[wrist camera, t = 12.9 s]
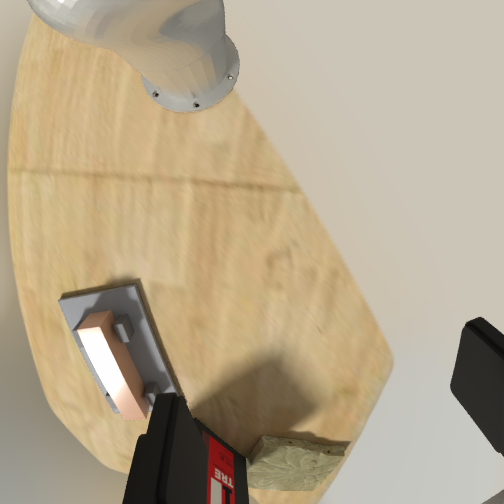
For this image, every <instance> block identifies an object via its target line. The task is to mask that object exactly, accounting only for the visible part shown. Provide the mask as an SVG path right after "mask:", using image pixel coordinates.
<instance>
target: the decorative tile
mask: <svg viewBox="0 0 504 504" xmlns="http://www.w3.org/2000/svg"><path fill="white" fill-rule="evenodd" d="M344 451H345V447H344V446H341V445H333V446H325V445H320V444H318V443H316V444H315V443H310V442H308V441H307V440H298V439H290V438H280V437H272V436H262V437H261V438H260V440H259V441H258V443H257V444H256V446H255V447H254V449H253V450H252V452H251V453H250V455H249V456H248V458H247V459H246V466H247V481H248V488H255V489H265V490H280V491H312V490H314V489H315V488H316V487H318V486H319V485H320V484H321V483H322V482H323V481H324V480H325V479H326V478H327V476H328V475H329V474H330V473H331V472H332V471H333V470H334V469H335V468H336V467H337V466H338V465H339V463H340V462H341V460H342V459H343V457H344Z"/></svg>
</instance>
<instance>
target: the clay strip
mask: <svg viewBox="0 0 504 504" xmlns="http://www.w3.org/2000/svg"><path fill="white" fill-rule="evenodd" d="M114 323H115V318H114V316H113V313H112V311H111V310H108V311H102V312H96V313H90V314H89V315H88V316H87V317H86V319H85V320H84V321H83V323H82V324H81V325H80V327H79V328H78V329H77V331H78V334H79V336H80V338H81V340H82V342H83V344H84V346H85V348H86V351H87V353H88V355H89V357H90V359H91V361H92V363H93V365H94V367H95V368H96V370H97V372H98V374H99V376H100V378H101V380H102V382H103V383H104V385H105V387H106V389H107V391H108V392H109V394H110V396H111V398H112V399H113V401H114V403H115V405H116V406H117V408H118V410H119V411H120V413H121V415H122V416H123V418H124V419H125V420H142V419H146V418H147V414H148V411H149V407H150V403H149V401H148V400H147V398H146V396H145V391H146V388H145V386H144V383H143V381H142V379H141V377H140V375H139V373H138V371H137V369H136V367H135V365H134V362H133V360H132V358H131V356H130V354H129V351H128V349H127V347H126V345H125V343H120V341H119V338H118V336H117V334H116V331H115V329H114V327H113V324H114Z"/></svg>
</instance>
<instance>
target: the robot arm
mask: <svg viewBox="0 0 504 504" xmlns="http://www.w3.org/2000/svg"><path fill="white" fill-rule="evenodd" d="M27 2H28V3H29V5H30V7H31V9H32V10H33V11H34V12H35V14H36V15H37V16H38V17H39V18H40V19H41V20H42V21H43V22H44V23H45V24H47V25H48V26H49V27H51V28H52V29H54V30H55V31H57V32H59V33H61V34H62V35H64V36H66V37H68V38H70V39H73V40H75V41H78V42H81V43H84V44H87V45H91V46H95V47H99V48H104V49H109V50H111V51H113V52H115V53H116V54H117V55H119V56H120V57H121V58H123V59H124V60H125V61H126V62H128V63H129V64H130V65H131V66H132V67H133V68H135V69H136V70H137V71H138V72H139V73H141V80H142V83H143V87H144V88H145V90H146V92H147V94H148V95H149V96H150V97H151V99H152V100H153V101H155V102H156V103H157V104H159V105H160V106H162V107H163V108H165V109H168V110H171V111H174V112H180V113H193V112H198V111H202V110H205V109H208V108H210V107H212V106H214V105H215V104H217V103H219V102H220V101H221V100H222V99H224V98H225V97H226V96H227V94H228V93H229V92H230V91H231V90H232V88H233V86H234V84H235V83H236V80H237V76H238V74H239V56H238V51H237V49H236V47H235V45H234V43H233V42H232V41H231V39H230V38H229V37H228V36H227V35H226V34H225V14H224V13H225V12H224V4H223V0H27ZM229 77H232V78H233V79H231V80H230V79H229ZM156 94H159V96H158V97H156ZM196 104H199V107H195V105H196ZM450 388H451V391H452V393H453V395H454V396H455V397H456V398H457V400H458V401H459V402H460V404H461V405H462V406H463V407H464V409H465V410H466V411H467V412H468V414H469V415H470V417H471V418H472V419H473V421H474V422H475V423H476V425H477V426H478V427H479V428H480V430H481V431H482V433H483V434H484V435H485V437H486V438H487V439H488V441H489V442H490V443H491V445H492V446H493V447H494V449H495V450H496V451H497V452H498V453H501V454H502V455H503V456H504V335H503V334H502V333H501V332H500V331H498V330H497V329H496V328H495V327H494V326H492V325H491V324H490V323H489V322H487V321H486V320H485V319H484V318H482V317H478V318H475V319H473V320H470V321H468V322H467V323H466V324H465V326H464V328H463V330H462V333H461V339H460V344H459V349H458V354H457V358H456V363H455V368H454V371H453V376H452V380H451V384H450ZM207 466H208V452H207V448H206V445H205V443H204V441H203V439H202V437H201V435H200V433H199V431H198V428H197V426H196V424H195V422H194V420H193V417H192V415H191V413H190V411H189V409H188V406H187V404H186V402H185V399H184V397H183V396H178V395H177V393H176V392H169V393H158V394H157V395H156V397H155V401H154V405H153V409H152V413H151V417H150V421H149V425H148V429H147V433H146V434H141V435H140V436H139V438H138V440H137V444H136V448H135V452H134V456H133V460H132V464H131V468H130V472H129V476H128V481H127V485H126V489H125V494H124V499H123V503H122V504H206V497H207ZM482 504H504V490H502V491H501V492H499V493H498V494H496V495H495V496H493V497H491V498H490V499H488V500H487V501H485V502H484V503H482Z"/></svg>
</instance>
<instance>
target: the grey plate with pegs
mask: <svg viewBox="0 0 504 504" xmlns="http://www.w3.org/2000/svg"><path fill="white" fill-rule="evenodd" d="M58 303H59V305H60V307H61V310H62V312H63V315H64V317H65V319H66V322H67V324H68V326H69V328H70V331H71V333H72V335H73V337H74V339H75V341H76V343H77V346H78V348H79V350H80V352H81V354H82V356H83V358H84V360H85V362H86V364H87V366H88V368H89V369H90V371H91V373H92V375H93V377H94V379H95V381H96V382H97V384H98V386H99V388H100V390H101V391H102V393H103V395H104V397H105V398H106V400H107V402H108V403H109V405H110V407H111V408H112V410H113V412H114V413H120V411H119V410H118V408H117V406H116V405H115V403H114V401H113V399H112V398H111V396H110V394H109V392H108V391H107V389H106V387H105V385H104V383H103V382H102V380H101V378H100V376H99V374H98V372H97V370H96V368H95V367H94V365H93V363H92V361H91V359H90V357H89V355H88V353H87V351H86V348H85V346H84V344H83V342H82V340H81V338H80V336H79V334H78V331H77V329H78V328H79V327H80V325H81V324H82V323H83V321H84V320H85V319H86V317H87V316H88V315H89V314H90V313H96V312H102V311H108V310H111V311H112V313H113V316H114V318H115V323H114V324H113V327H114V329H115V331H116V334H117V336H118V338H119V341H120V343H125V345H126V347H127V349H128V351H129V354H130V356H131V358H132V360H133V362H134V365H135V367H136V369H137V371H138V373H139V375H140V377H141V379H142V381H143V383H144V386H145V388H146V391H145V396H146V398H147V400H148V401H149V403H150V407H149V411H148V412H152V409H153V405H154V401H155V397H156V395H157V394H158V393H169V392H176V393H177V395H178V396H180V395H179V393H178V390H177V388H176V386H175V384H174V381H173V379H172V377H171V374H170V372H169V370H168V367H167V365H166V362H165V360H164V358H163V355H162V353H161V350H160V348H159V345H158V343H157V340H156V337H155V335H154V332H153V330H152V327H151V324H150V322H149V319H148V316H147V313H146V311H145V308H144V305H143V302H142V299H141V296H140V293H139V290H138V287H137V284H132V285H127V286H122V287H117V288H111V289H106V290H101V291H96V292H91V293H86V294H80V295H75V296H70V297H65V298H60V299H59V300H58Z"/></svg>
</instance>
